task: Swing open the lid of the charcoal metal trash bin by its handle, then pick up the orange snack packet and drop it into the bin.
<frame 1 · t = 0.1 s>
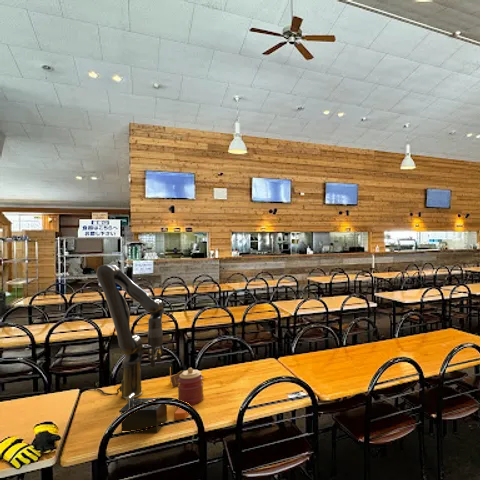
hand: (155, 364, 211), 17 cm above the table, tool pointing down, fingers open, 8 cm apart
kitchen canister: (190, 400, 203), on the table
trash bin: (145, 426, 176), on the table
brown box: (186, 383, 228), on the table
packet: (182, 415, 186), on the table
bin lid: (143, 399, 176), point 12 cm above the table, hinge at 0.0°
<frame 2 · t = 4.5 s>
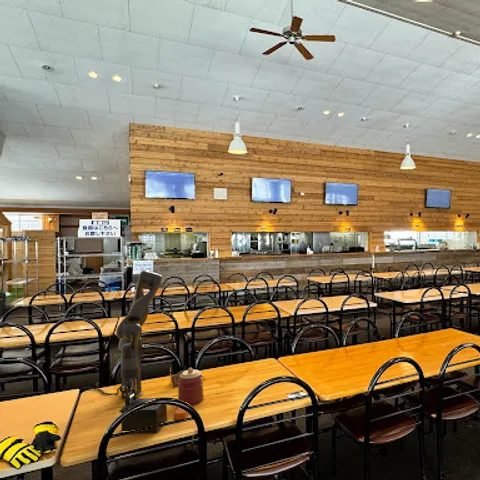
hand: (130, 402, 175), 11 cm above the table, tool pointing down, fingers closed on bin lid, 5 cm apart
bin lid: (143, 399, 176), point 12 cm above the table, hinge at 0.0°, touching gripper
everything else where it was.
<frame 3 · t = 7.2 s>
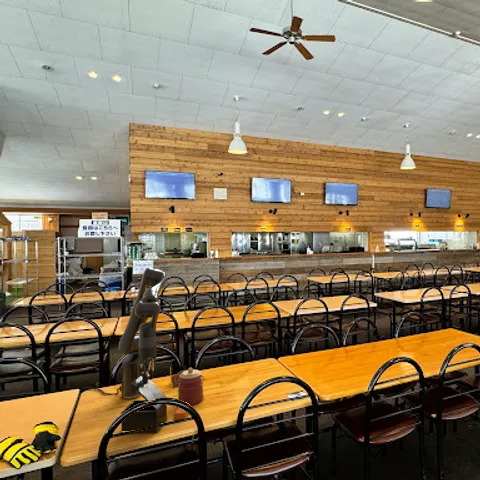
hand: (147, 381, 176), 21 cm above the table, tool pointing down, fingers closed on bin lid, 5 cm apart
bin lid: (153, 388, 176), point 18 cm above the table, hinge at 48.5°, touching gripper
everything else where it was.
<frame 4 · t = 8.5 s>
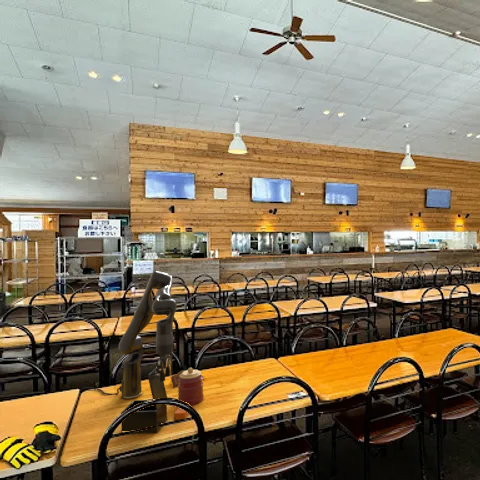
hand: (164, 378, 176), 22 cm above the table, tool pointing down, fingers closed on bin lid, 5 cm apart
bin lid: (162, 385, 176), point 19 cm above the table, hinge at 78.5°, touching gripper
everything else where it was.
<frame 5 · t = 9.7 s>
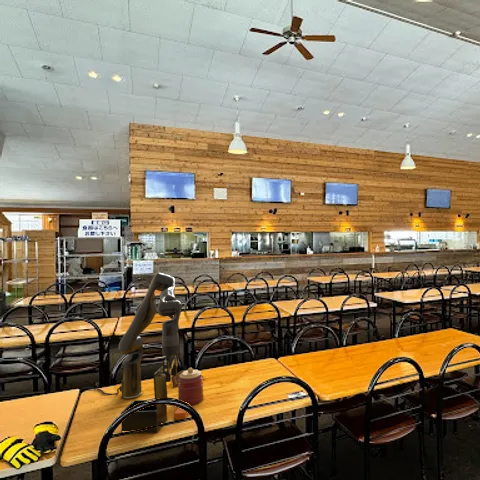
hand: (171, 378, 176), 22 cm above the table, tool pointing down, fingers open, 7 cm apart
bin lid: (165, 386, 176), point 19 cm above the table, hinge at 87.5°
everything else where it was.
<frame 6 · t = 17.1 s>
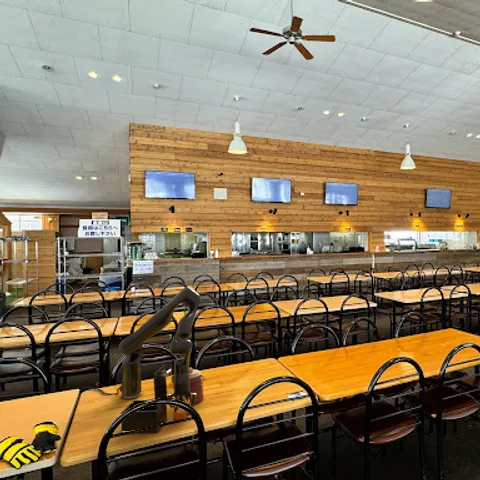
hand: (182, 414, 186), 0 cm above the table, tool pointing down, fingers closed on packet, 5 cm apart
packet: (182, 415, 186), on the table, touching gripper
everything else where it was.
when the fingers open (11 cm above the table, at t = 26.1 s): packet drops 10 cm, resting on trash bin.
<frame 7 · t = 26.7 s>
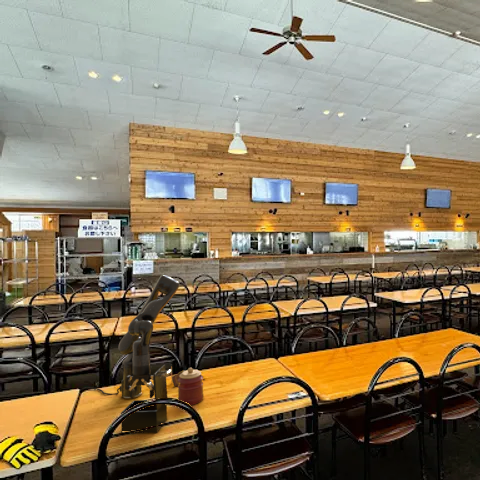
hand: (142, 397, 176), 14 cm above the table, tool pointing down, fingers open, 8 cm apart
packet: (143, 424, 176), point 1 cm above the table, touching trash bin
everything else where it was.
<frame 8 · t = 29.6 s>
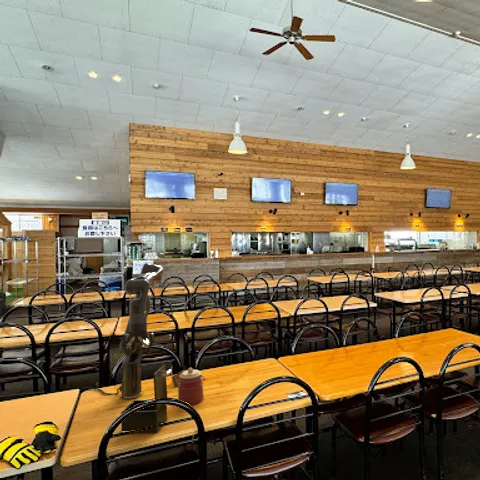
hand: (138, 355, 179), 32 cm above the table, tool pointing down, fingers open, 8 cm apart
nothing on the table moved.
at the end: bin lid at +88° (first picture: +0°); packet inside the target area in the trash bin (0.7 cm from its centre), point 0.8 cm above the trash bin's base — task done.
